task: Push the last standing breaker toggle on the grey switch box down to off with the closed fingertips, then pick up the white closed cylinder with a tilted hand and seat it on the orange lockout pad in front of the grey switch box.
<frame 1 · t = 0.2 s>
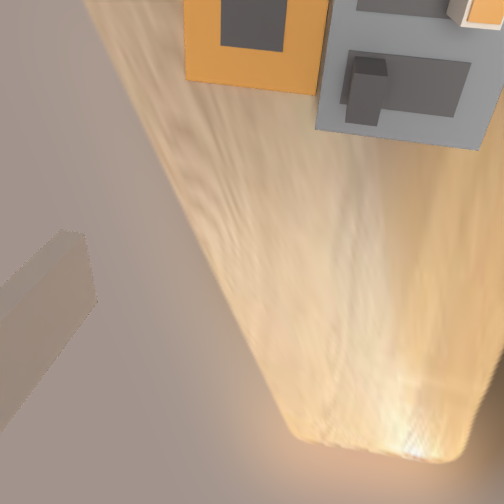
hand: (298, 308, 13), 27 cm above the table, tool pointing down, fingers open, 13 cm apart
pad: (254, 12, 33), on the table
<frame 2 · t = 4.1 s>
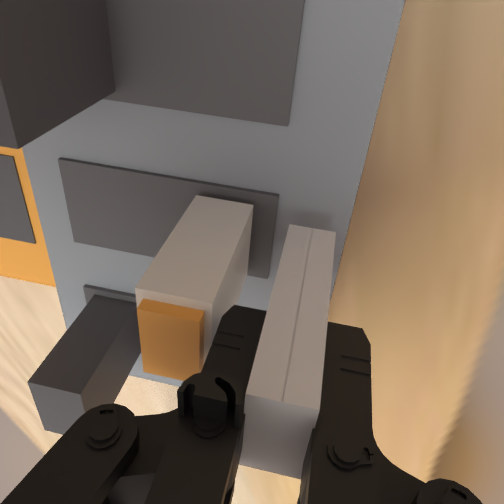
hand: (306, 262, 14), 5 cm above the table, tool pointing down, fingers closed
grey switch box: (211, 175, 19), on the table
toggle3: (200, 283, 13), point 7 cm above the table, slide at 0.3 cm, touching gripper
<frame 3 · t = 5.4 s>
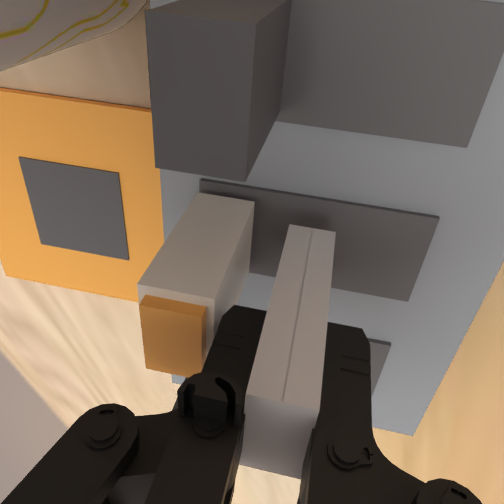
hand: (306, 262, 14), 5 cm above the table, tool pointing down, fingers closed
grey switch box: (328, 191, 19), on the table
toggle3: (202, 280, 13), point 7 cm above the table, slide at 5.5 cm, touching gripper
pad: (81, 206, 22), on the table
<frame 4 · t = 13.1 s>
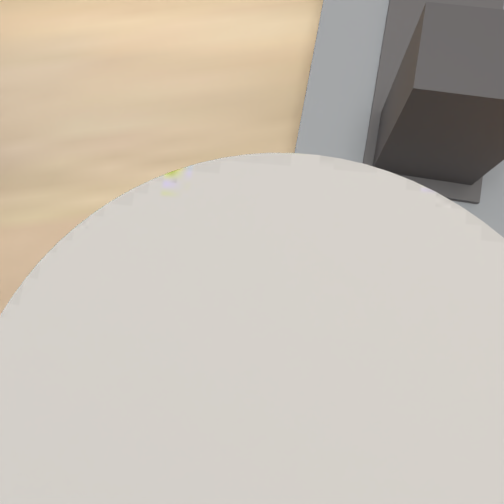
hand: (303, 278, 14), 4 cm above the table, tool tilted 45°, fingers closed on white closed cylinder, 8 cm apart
white closed cylinder: (286, 372, 17), on the table, touching gripper
when the fingers open (5 cm above the table, at t = 18.0 s): white closed cylinder drops 1 cm, resting on pad.
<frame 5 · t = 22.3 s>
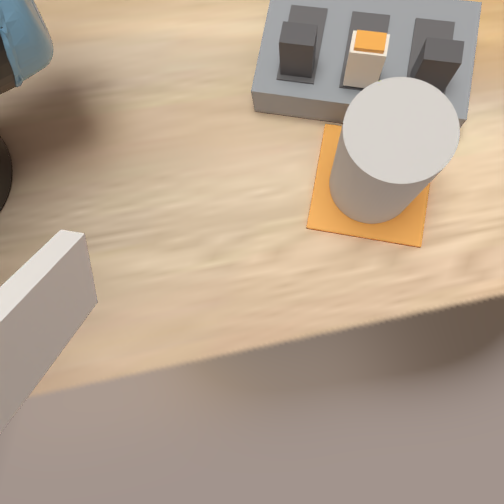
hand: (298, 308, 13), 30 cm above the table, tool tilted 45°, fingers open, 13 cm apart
grey switch box: (359, 71, 45), on the table
toggle3: (365, 60, 38), point 7 cm above the table, slide at 5.5 cm
pad: (370, 184, 43), on the table
white closed cylinder: (370, 184, 43), resting on pad
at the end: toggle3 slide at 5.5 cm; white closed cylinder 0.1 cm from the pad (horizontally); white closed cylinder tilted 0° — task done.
